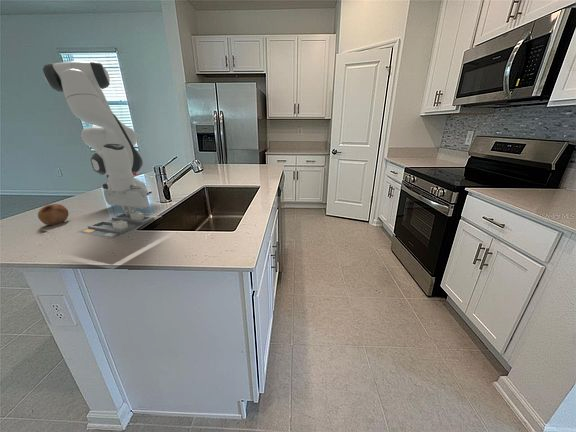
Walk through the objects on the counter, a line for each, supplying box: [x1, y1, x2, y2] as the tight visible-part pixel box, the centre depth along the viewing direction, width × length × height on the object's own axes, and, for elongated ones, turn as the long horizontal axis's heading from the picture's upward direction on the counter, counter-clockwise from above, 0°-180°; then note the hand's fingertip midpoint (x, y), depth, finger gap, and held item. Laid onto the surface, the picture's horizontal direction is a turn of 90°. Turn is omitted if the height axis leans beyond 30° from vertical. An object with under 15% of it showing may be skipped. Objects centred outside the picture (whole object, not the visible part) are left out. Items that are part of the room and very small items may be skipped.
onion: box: [37, 203, 69, 226], centre depth 102 cm, size 10×9×10 cm
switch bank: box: [77, 212, 163, 239], centre depth 102 cm, size 24×18×2 cm
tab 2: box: [130, 210, 144, 221], centre depth 105 cm, size 3×4×4 cm
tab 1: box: [112, 220, 128, 230], centre depth 95 cm, size 3×4×4 cm
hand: (130, 215), depth 106 cm, fingers closed
